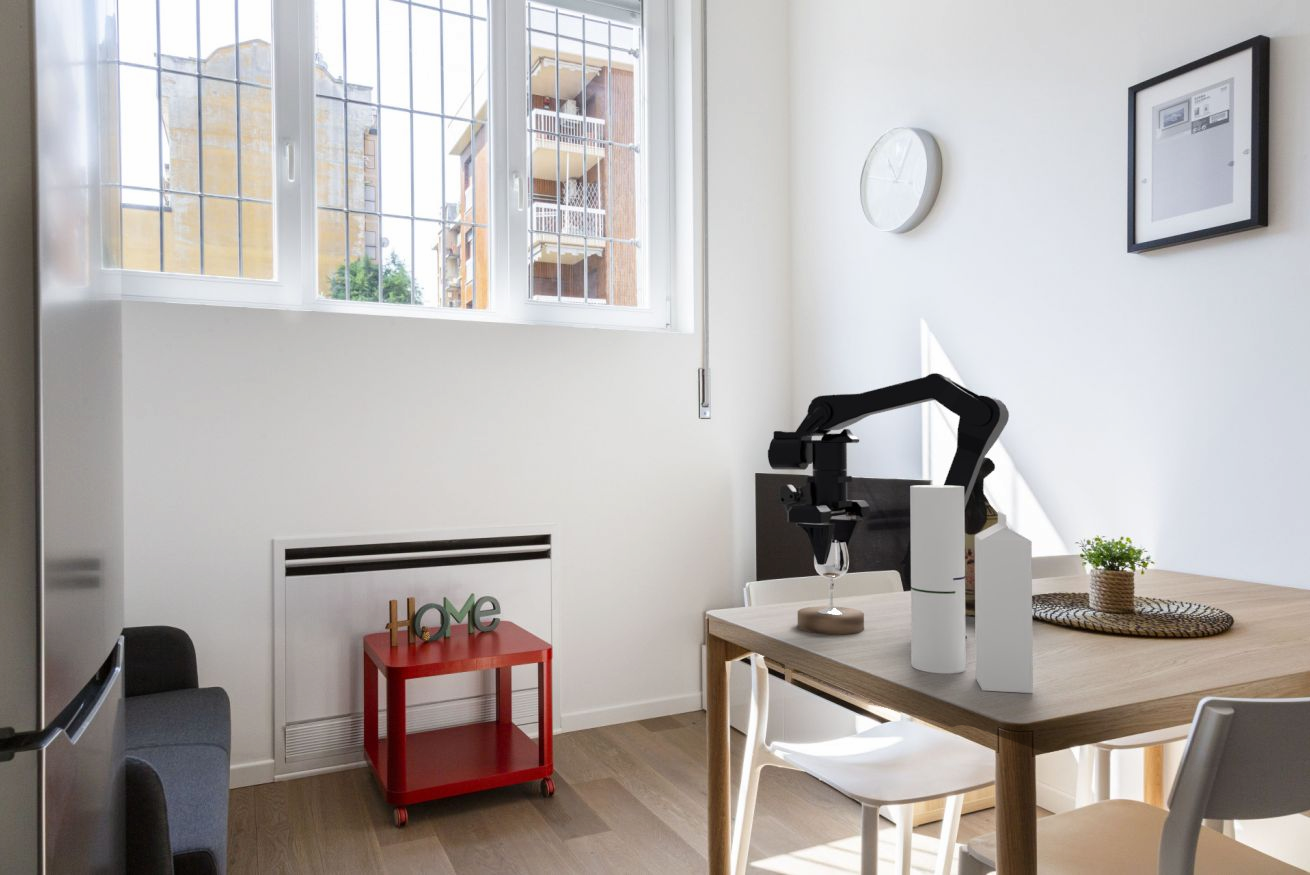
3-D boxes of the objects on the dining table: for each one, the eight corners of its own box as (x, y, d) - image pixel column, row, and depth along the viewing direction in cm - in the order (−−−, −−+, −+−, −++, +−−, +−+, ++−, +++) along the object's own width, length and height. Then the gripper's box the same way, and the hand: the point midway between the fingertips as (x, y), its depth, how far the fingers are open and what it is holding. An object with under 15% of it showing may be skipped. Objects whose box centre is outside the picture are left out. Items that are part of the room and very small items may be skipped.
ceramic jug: (954, 601, 168) (952, 449, 168) (1036, 611, 158) (1035, 449, 158) (917, 614, 155) (916, 449, 155) (1004, 626, 145) (1003, 449, 145)
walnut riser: (875, 626, 145) (875, 611, 145) (845, 637, 137) (845, 621, 137) (817, 618, 152) (817, 604, 152) (785, 628, 144) (785, 613, 144)
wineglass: (851, 615, 142) (852, 543, 142) (816, 615, 142) (817, 542, 142) (844, 609, 147) (845, 539, 147) (811, 608, 147) (811, 539, 148)
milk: (1023, 681, 111) (1023, 511, 111) (1033, 694, 105) (1033, 515, 106) (974, 678, 113) (974, 510, 113) (980, 691, 107) (980, 514, 107)
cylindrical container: (977, 669, 117) (975, 486, 117) (940, 676, 113) (939, 488, 114) (936, 658, 123) (935, 484, 124) (900, 664, 120) (899, 486, 120)
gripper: (814, 468, 157) (815, 553, 157) (759, 470, 143) (760, 564, 142) (870, 469, 150) (871, 558, 150) (819, 471, 136) (819, 570, 135)
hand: (830, 562), depth 145 cm, fingers open, 6 cm apart
